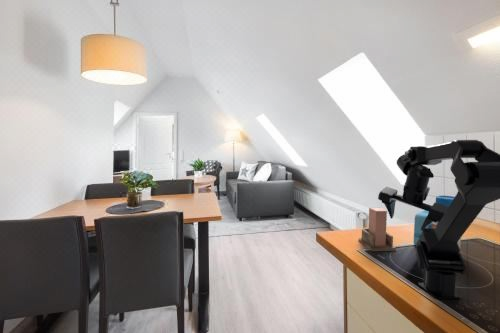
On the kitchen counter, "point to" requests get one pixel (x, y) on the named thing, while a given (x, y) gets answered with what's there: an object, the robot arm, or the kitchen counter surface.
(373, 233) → the pink tall block
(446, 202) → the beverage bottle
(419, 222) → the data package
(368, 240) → the book rack
